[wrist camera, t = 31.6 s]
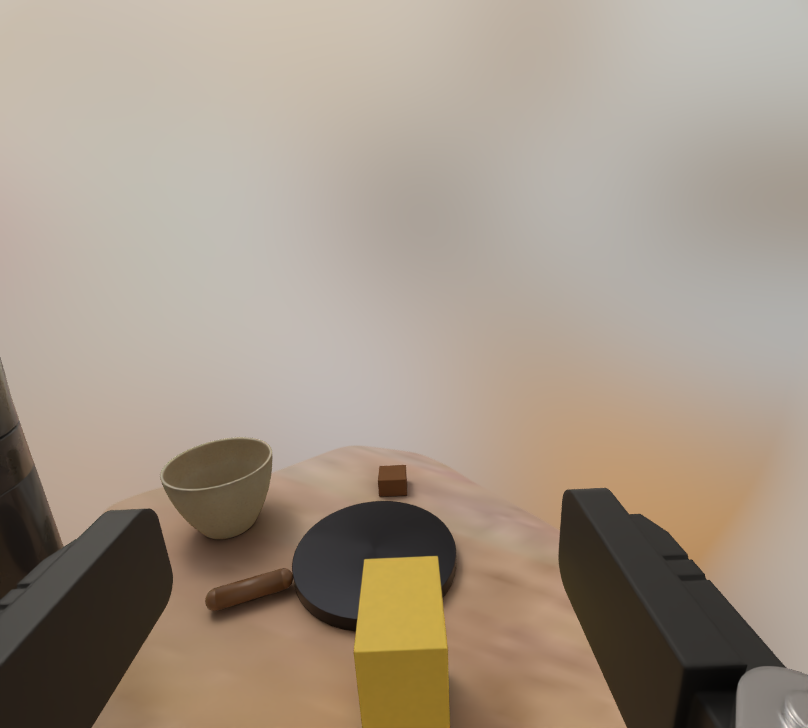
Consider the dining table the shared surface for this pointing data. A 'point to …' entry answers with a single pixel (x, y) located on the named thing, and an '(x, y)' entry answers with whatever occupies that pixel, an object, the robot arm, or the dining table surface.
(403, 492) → the brown small block
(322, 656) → the dining table surface
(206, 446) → the beige bowl
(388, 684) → the sponge
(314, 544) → the pan
